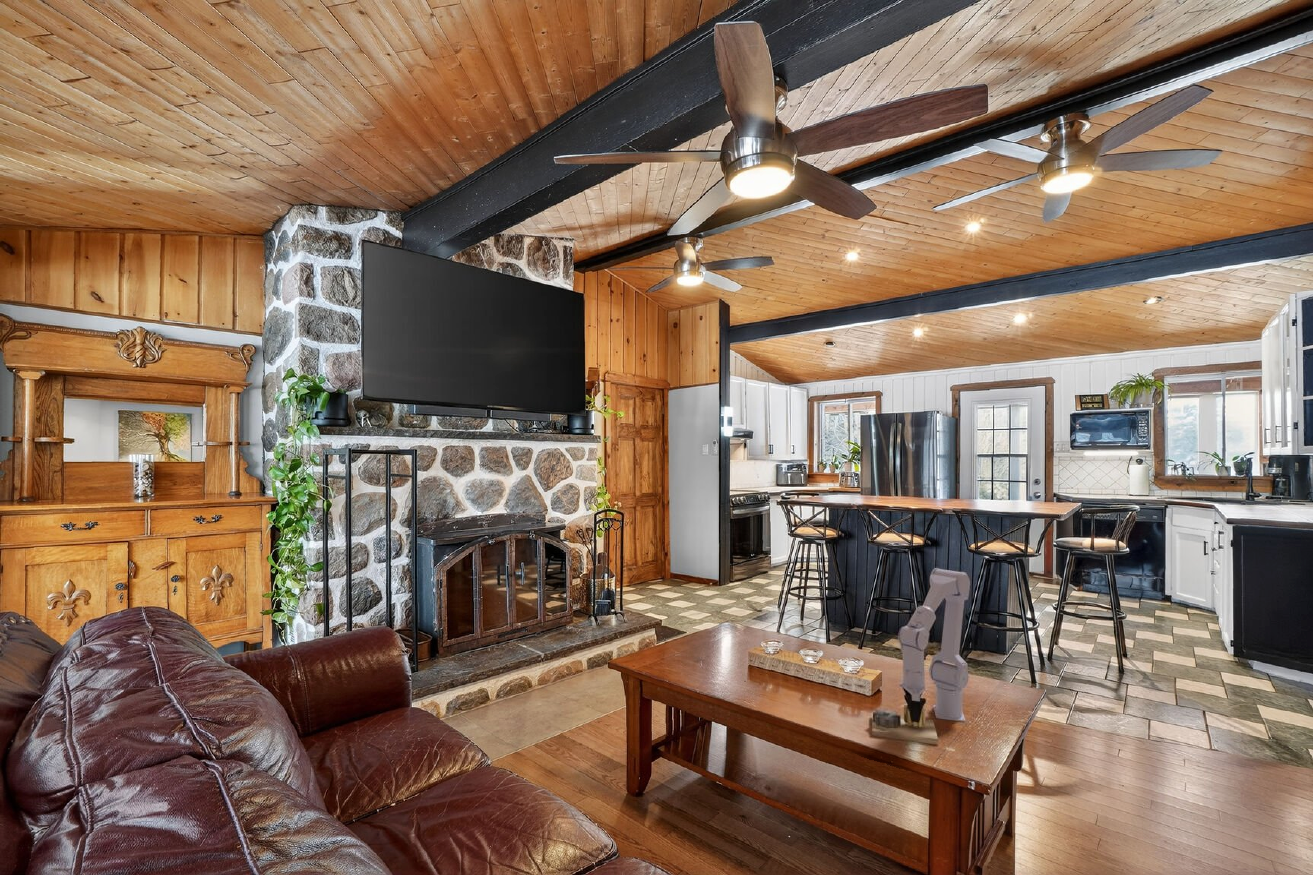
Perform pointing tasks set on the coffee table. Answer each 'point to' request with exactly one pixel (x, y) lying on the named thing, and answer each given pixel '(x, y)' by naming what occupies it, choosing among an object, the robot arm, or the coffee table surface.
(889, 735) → the gear board
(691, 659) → the coffee table surface
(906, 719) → the brass gear
